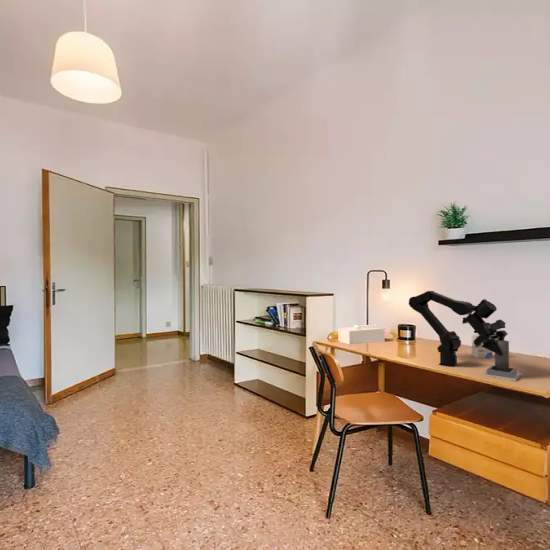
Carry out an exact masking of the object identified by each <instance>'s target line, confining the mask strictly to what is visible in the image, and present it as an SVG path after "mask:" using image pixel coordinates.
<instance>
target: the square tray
mask: <svg viewBox="0 0 550 550" xmlns="http://www.w3.org/2000/svg"><path fill="white" fill-rule="evenodd" d="M521 375H522V373H521V372H518V369H517V368H516V367H509V370H508V371H502V370H496V369H495V364H493V365H490V366H489V367H488V368H487V369H486V371H485V372H483V373H482V377H485V376H489V377H488V378H491V377H496V378H495V379H498V378H501V379H500V380H504V379H506V381H511V380H513V381H512V382H516V381H517V380H518V379H519V378H520V377H521Z"/></svg>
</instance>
